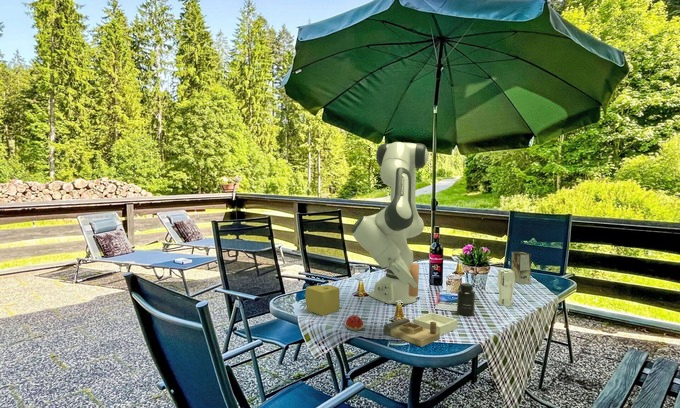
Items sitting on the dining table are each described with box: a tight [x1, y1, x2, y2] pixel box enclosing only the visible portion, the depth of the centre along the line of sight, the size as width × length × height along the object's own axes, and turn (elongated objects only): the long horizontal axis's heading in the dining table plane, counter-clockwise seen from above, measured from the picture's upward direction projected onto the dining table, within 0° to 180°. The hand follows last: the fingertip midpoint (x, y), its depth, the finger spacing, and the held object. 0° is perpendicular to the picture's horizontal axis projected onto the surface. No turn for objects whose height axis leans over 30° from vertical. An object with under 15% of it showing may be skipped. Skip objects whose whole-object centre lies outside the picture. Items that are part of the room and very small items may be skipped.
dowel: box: [409, 262, 420, 298], centre depth 135 cm, size 3×3×11 cm
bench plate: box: [382, 317, 440, 348], centre depth 135 cm, size 16×12×6 cm
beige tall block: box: [497, 268, 516, 307], centre depth 172 cm, size 7×7×15 cm
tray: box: [413, 311, 458, 337], centre depth 143 cm, size 11×11×3 cm
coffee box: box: [510, 251, 532, 285], centre depth 212 cm, size 9×6×16 cm
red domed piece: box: [345, 314, 364, 332], centre depth 144 cm, size 7×10×4 cm
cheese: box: [304, 284, 341, 317], centre depth 161 cm, size 10×11×10 cm
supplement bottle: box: [456, 282, 476, 317], centre depth 159 cm, size 7×7×12 cm
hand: (415, 284), depth 135 cm, fingers closed on dowel, 3 cm apart
